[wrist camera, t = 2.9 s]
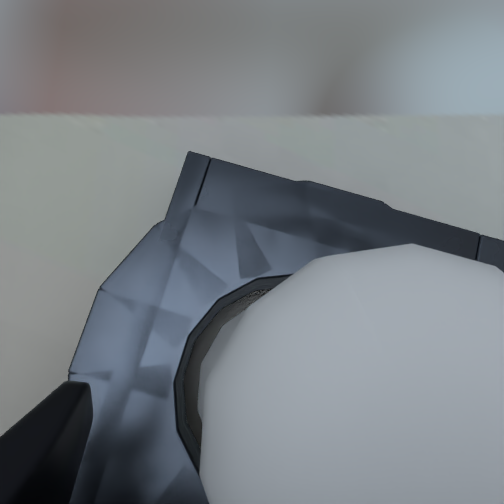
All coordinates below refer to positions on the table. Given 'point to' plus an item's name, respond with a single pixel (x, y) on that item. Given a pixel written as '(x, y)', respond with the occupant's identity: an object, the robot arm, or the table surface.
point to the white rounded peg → (360, 385)
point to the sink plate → (209, 309)
